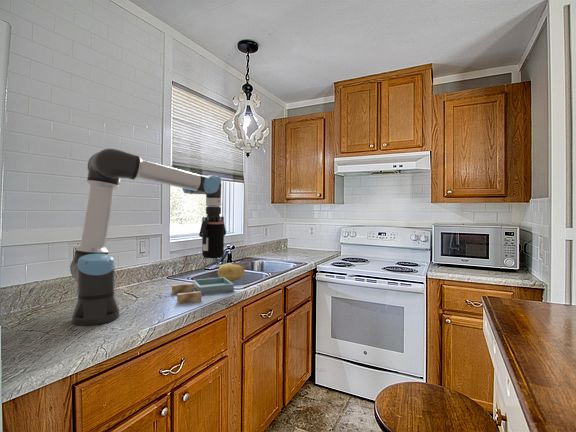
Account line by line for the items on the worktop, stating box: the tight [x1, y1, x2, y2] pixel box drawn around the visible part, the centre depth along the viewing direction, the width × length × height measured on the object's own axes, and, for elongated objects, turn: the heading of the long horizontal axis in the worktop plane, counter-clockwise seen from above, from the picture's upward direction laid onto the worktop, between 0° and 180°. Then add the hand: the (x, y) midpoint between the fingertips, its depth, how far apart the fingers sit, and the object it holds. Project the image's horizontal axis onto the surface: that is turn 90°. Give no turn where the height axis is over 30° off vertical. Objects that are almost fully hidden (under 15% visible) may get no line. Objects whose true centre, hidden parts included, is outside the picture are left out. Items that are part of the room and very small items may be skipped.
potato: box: [217, 263, 245, 282], centre depth 185 cm, size 10×14×10 cm
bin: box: [192, 277, 235, 295], centre depth 166 cm, size 17×17×4 cm
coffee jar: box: [201, 221, 225, 259], centre depth 165 cm, size 11×11×18 cm
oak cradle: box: [171, 282, 202, 305], centre depth 150 cm, size 10×19×4 cm, turn 27°
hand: (213, 249), depth 166 cm, fingers closed on coffee jar, 11 cm apart
